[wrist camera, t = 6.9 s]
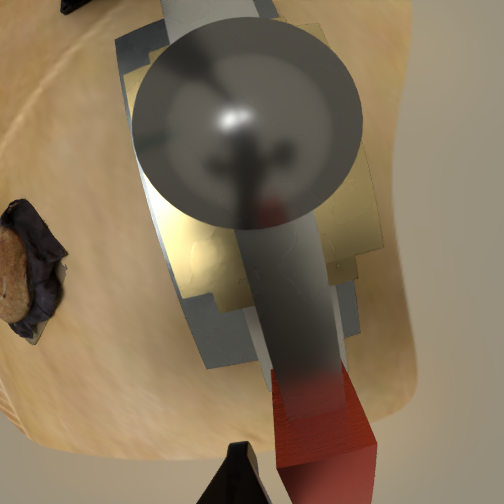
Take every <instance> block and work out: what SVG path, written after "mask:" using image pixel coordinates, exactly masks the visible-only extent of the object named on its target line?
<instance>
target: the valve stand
mask: <svg viewBox="0 0 504 504" xmlns="http://www.w3.org/2000/svg"><path fill="white" fill-rule="evenodd" d="M160 1H161V6H162V10H163V15H164V19H161V20H159V21H156V22H153V23H151V24H148V25H146V26H144V27H141V28H139V29H137V30H134V31H132V32H130V33H128V34H125V35H123V36H121V37H119V38H117V39H115V46H116V54H117V61H118V68H119V74H120V81H121V87H122V92H123V98H124V103H125V109H126V114H127V119H128V124H129V128H130V133H131V138H132V142H133V137H132V114H133V107H134V103H135V99H136V95H137V92H138V90H139V87H140V85H141V82H142V80H143V78H144V77H145V75H146V73H147V71H148V70H149V68H150V67H151V65H152V64H153V63H154V62H155V60H156V59H157V58H158V56H159V55H160V54H161V53H162V52H163V51H164V50H165V49H166V48H167V47H169V46H170V45H171V44H172V43H174V42H175V41H176V40H178V39H179V38H180V37H182V36H184V35H185V34H187V33H189V32H190V31H192V30H194V29H196V28H199V27H201V26H203V25H206V24H209V23H212V22H215V21H219V20H224V19H229V18H237V17H261V18H268V19H274V20H278V21H281V22H285V23H287V21H286V19H285V17H279V15H278V13H277V11H276V9H275V6H274V4H273V2H272V0H160ZM296 27H298V28H300V29H303V30H304V31H306V32H308V33H310V34H311V35H313V36H315V37H316V38H318V39H319V40H320V41H322V42H323V43H324V44H326V45H327V46H328V47H329V45H328V42H327V40H326V38H325V35H324V33H323V31H322V29H321V27H320V24H319V23H316V24H305V25H296ZM329 48H330V47H329ZM133 147H134V143H133ZM134 151H135V148H134ZM135 155H136V152H135ZM136 159H137V164H138V168H139V172H140V176H141V179H142V183H143V187H144V191H145V195H146V198H147V202H148V205H149V209H150V212H151V216H152V219H153V223H154V226H155V229H156V233H157V236H158V239H159V242H160V245H161V249H162V252H163V255H164V258H165V261H166V264H167V267H168V270H169V273H170V276H171V279H172V282H173V284H174V287H175V290H176V293H177V296H178V298H179V301H180V304H181V307H182V309H183V312H184V315H185V317H186V320H187V323H188V325H189V328H190V330H191V333H192V335H193V338H194V340H195V343H196V345H197V348H198V350H199V353H200V355H201V357H202V360H203V362H204V364H205V367H206V369H212V368H218V367H224V366H229V365H235V364H240V363H245V362H250V361H255V360H259V363H260V366H261V369H262V372H263V375H264V378H265V381H266V384H267V387H268V390H269V392H272V383H271V369H273V367H272V363H271V360H270V357H269V353H268V350H267V346H266V343H265V339H264V336H263V332H262V329H261V325H260V322H259V318H258V315H257V311H256V308H255V304H254V301H253V297H252V294H251V290H250V287H249V283H248V279H247V276H246V272H245V269H244V265H243V262H242V258H241V254H240V251H239V247H238V243H237V240H236V236H235V233H234V229H226V228H221V227H216V226H212V225H209V224H206V223H203V222H200V221H198V220H196V219H194V218H192V217H190V216H188V215H186V214H184V213H182V212H181V211H179V210H178V209H176V208H175V207H173V206H172V205H171V204H170V203H169V202H167V201H166V200H165V199H164V198H163V197H162V196H161V195H160V194H159V193H158V192H157V191H156V189H155V188H154V187H153V186H152V185H151V183H150V182H149V180H148V178H147V177H146V175H145V174H144V172H143V170H142V168H141V165H140V163H139V161H138V158H137V155H136ZM314 214H315V218H316V223H317V227H318V232H319V236H320V241H321V246H322V251H323V256H324V261H325V266H326V271H327V276H328V282H329V287H330V293H331V298H332V304H333V310H334V316H335V323H336V329H337V336H338V343H339V350H340V357H341V360H342V362H343V364H344V367H345V369H346V371H347V372H348V366H347V358H346V350H345V343H344V338H346V337H349V336H353V335H356V334H359V333H360V324H359V316H358V308H357V301H356V294H355V287H354V279H358V273H357V266H356V260H355V255H358V254H362V253H365V252H369V251H372V250H376V249H379V248H383V247H384V244H383V237H382V231H381V225H380V220H379V214H378V209H377V203H376V198H375V194H374V189H373V184H372V180H371V175H370V171H369V167H368V163H367V159H366V155H365V151H364V147H363V144H362V140H361V143H360V147H359V151H358V154H357V157H356V160H355V162H354V164H353V166H352V168H351V170H350V172H349V174H348V175H347V177H346V178H345V180H344V181H343V183H342V184H341V186H340V187H339V188H338V189H337V190H336V191H335V192H334V193H333V194H332V196H331V197H329V198H328V199H327V200H326V201H325V202H324V203H322V204H321V205H320V206H319V207H317V208H316V209H314Z"/></svg>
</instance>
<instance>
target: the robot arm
mask: <svg viewBox="0 0 504 504" xmlns="http://www.w3.org/2000/svg"><path fill="white" fill-rule="evenodd" d="M88 1H89V0H61V9H60V12H61V13H62V14H64V15H66V14H68V13H69V12H71V11H73V10H74V9H76V8H77V7H79V6H81V5H83V4H84V3H86V2H88ZM196 504H272V502H271V500H270V498H269V496H268V494H267V492H266V490H265V488H264V486H263V484H262V482H261V480H260V477H259V473H258V464H257V458H256V455H255V453H254V451H253V448H252V446H251V444H250V443H249V441H242V442H235V443H230V444H229V446H228V451H227V456H226V458H225V460H224V462H223V463H222V465H221V466H220V468H219V469H218V471H217V473H216V474H215V476H214V477H213V479H212V480H211V482H210V484H209V485H208V487H207V488H206V490H205V491H204V493H203V494H202V496H201V497H200V499H199V500H198V502H197V503H196Z"/></svg>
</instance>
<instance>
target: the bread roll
mask: <svg viewBox="0 0 504 504" xmlns="http://www.w3.org/2000/svg"><path fill="white" fill-rule="evenodd" d="M11 205H12V206H11ZM9 206H10V207H9ZM9 206H8V208H7V209H6V210H5V211H4V213H3V214H2V215H1V217H0V318H1V319H3V320H4V321H5V322H7V323H8V324H9V326H10V327H11V329H12V330H13V331H14V332H15V333H16V334H19V335H20V337H23V338H25V339H26V340H27V341H28V342H29V343H30V344H32V345H36V343H37V342H38V340H39V338H40V336H41V334H42V332H43V330H44V328H45V326H46V324H47V322H48V320H49V318H51V316H52V312H53V311H54V309H55V305H56V301H57V300H58V298H59V297H60V291H61V288H62V285H63V282H64V279H65V276H66V273H65V270H67V266H66V264H65V267H64V266H63V265H62V263H61V258H63V257H64V256H65V255H67V252H66V251H65V249H64V247H63V246H62V245H61V244H60V243H59V242H58V240H57V239H55V237H54V236H53V235H52V233H51V232H50V230H49V229H48V228H47V227H46V225H45V224H44V223H43V221H42V219H41V217H40V216H39V214H38V213H37V211H36V210H35V209H34V207H33V206H32V205H31V204H29V203H28V202H27V201H25V200H24V199H20V200H14V201H13V202H11V203H10V204H9Z"/></svg>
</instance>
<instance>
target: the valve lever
mask: <svg viewBox="0 0 504 504" xmlns="http://www.w3.org/2000/svg"><path fill="white" fill-rule="evenodd" d="M362 125H363V117H362V108H361V102H360V98H359V95H358V91H357V88H356V86H355V84H354V81H353V79H352V77H351V75H350V74H349V72H348V70H347V68H346V67H345V65H344V64H343V63H342V61H341V60H340V59H339V58H338V56H337V55H336V54H335V53H334V52H333V51H332V50H331V49H330V48H329V47H328V46H327V45H326V44H324V43H323V42H322V41H320V40H319V39H318V38H316V37H315V36H313V35H311V34H310V33H308V32H306V31H304V30H303V29H300V28H298V27H296V26H293V25H291V24H288V23H285V22H281V21H278V20H274V19H268V18H261V17H237V18H229V19H224V20H219V21H215V22H212V23H209V24H206V25H203V26H201V27H199V28H196V29H194V30H192V31H190V32H189V33H187V34H185V35H184V36H182V37H180V38H179V39H178V40H176V41H175V42H174V43H172V44H171V45H170V46H169V47H167V48H166V49H165V50H164V51H163V52H162V53H161V54H160V55H159V56H158V58H157V59H156V60H155V62H154V63H153V64H152V65H151V67H150V68H149V70H148V71H147V73H146V75H145V77H144V78H143V80H142V82H141V85H140V87H139V90H138V92H137V95H136V99H135V103H134V107H133V114H132V137H133V143H134V148H135V152H136V155H137V158H138V161H139V163H140V165H141V168H142V170H143V172H144V174H145V175H146V177H147V178H148V180H149V182H150V183H151V185H152V186H153V187H154V188H155V189H156V191H157V192H158V193H159V194H160V195H161V196H162V197H163V198H164V199H165V200H166V201H167V202H169V203H170V204H171V205H172V206H173V207H175V208H176V209H178V210H179V211H181V212H182V213H184V214H186V215H188V216H190V217H192V218H194V219H196V220H198V221H200V222H203V223H206V224H209V225H212V226H216V227H221V228H226V229H234V233H235V236H236V240H237V243H238V247H239V251H240V254H241V258H242V262H243V265H244V269H245V272H246V276H247V279H248V283H249V287H250V290H251V294H252V297H253V301H254V304H255V308H256V311H257V315H258V318H259V322H260V325H261V329H262V332H263V336H264V339H265V343H266V346H267V350H268V353H269V357H270V360H271V363H272V367H273V369H271V383H272V399H273V416H274V433H275V451H276V469H277V471H278V473H279V475H280V477H281V480H282V482H283V484H284V486H285V488H286V491H287V493H288V495H289V497H290V499H291V502H292V504H371V501H372V493H373V486H374V477H375V467H376V455H377V442H376V439H375V437H374V434H373V432H372V430H371V427H370V424H369V422H368V420H367V417H366V415H365V413H364V410H363V408H362V406H361V403H360V401H359V399H358V396H357V394H356V392H355V389H354V387H353V385H352V382H351V380H350V378H349V376H348V373H347V371H346V369H345V367H344V364H343V362H342V360H341V357H340V350H339V343H338V336H337V329H336V323H335V316H334V310H333V304H332V298H331V293H330V287H329V282H328V276H327V271H326V266H325V261H324V256H323V251H322V246H321V241H320V236H319V232H318V227H317V223H316V218H315V214H314V209H316V208H317V207H319V206H320V205H321V204H322V203H324V202H325V201H326V200H327V199H328V198H329V197H331V196H332V194H333V193H334V192H335V191H336V190H337V189H338V188H339V187H340V186H341V184H342V183H343V181H344V180H345V178H346V177H347V175H348V174H349V172H350V170H351V168H352V166H353V164H354V162H355V160H356V157H357V154H358V151H359V147H360V143H361V137H362Z"/></svg>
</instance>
